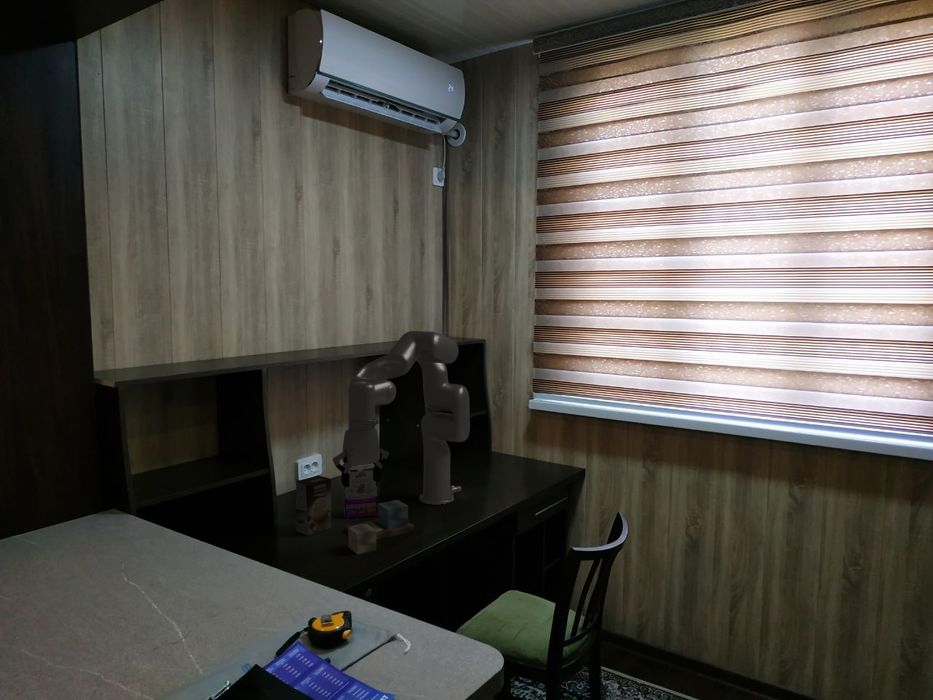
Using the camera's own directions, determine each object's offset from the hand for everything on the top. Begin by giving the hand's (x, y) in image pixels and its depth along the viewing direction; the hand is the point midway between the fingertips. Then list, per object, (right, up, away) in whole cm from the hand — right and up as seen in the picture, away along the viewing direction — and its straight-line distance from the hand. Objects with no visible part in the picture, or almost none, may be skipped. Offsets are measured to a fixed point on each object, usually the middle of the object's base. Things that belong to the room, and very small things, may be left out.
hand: (361, 483), depth 194 cm
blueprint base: (+3, -18, +17) cm, 25 cm away
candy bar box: (-5, -17, +30) cm, 35 cm away
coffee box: (-18, -18, +17) cm, 30 cm away
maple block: (0, -20, +2) cm, 20 cm away
